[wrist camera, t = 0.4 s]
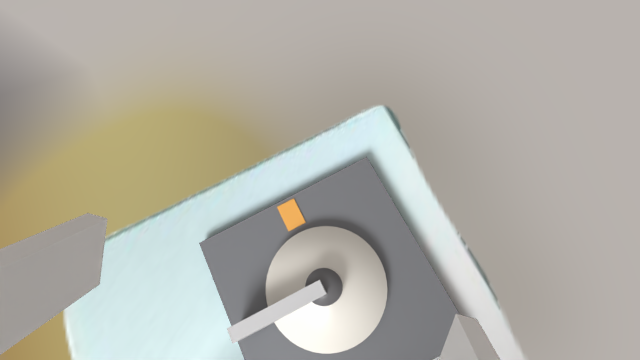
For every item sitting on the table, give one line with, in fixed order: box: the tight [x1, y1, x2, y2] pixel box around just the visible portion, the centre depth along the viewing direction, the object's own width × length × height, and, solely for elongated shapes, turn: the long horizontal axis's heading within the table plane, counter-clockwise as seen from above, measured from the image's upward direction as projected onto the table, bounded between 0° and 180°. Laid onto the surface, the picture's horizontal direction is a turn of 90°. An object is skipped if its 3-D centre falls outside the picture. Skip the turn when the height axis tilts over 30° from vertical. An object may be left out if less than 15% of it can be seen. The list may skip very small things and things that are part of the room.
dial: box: [227, 226, 387, 354], centre depth 40 cm, size 18×14×4 cm
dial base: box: [199, 157, 460, 360], centre depth 43 cm, size 24×24×2 cm
